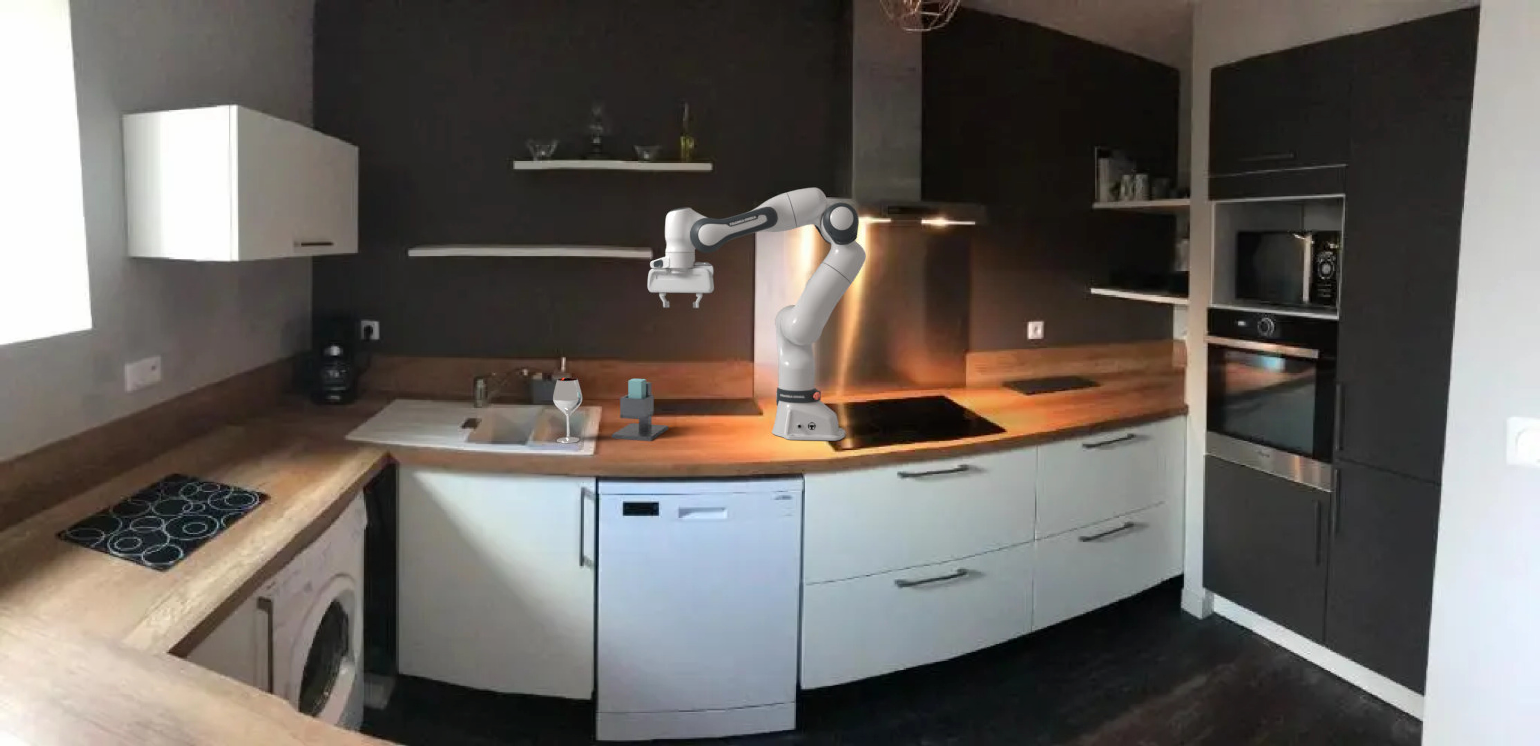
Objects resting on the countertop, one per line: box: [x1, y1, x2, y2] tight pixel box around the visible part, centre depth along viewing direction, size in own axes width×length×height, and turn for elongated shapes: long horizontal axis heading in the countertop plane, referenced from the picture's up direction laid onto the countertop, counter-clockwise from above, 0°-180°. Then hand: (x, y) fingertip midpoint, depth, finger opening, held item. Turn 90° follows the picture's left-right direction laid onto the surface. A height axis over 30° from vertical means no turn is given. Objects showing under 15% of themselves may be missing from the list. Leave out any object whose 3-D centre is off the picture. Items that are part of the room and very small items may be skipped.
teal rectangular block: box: [627, 378, 647, 399], centre depth 256 cm, size 4×4×10 cm
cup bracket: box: [611, 381, 669, 442], centre depth 259 cm, size 12×16×15 cm
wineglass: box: [552, 377, 583, 444], centre depth 249 cm, size 8×8×18 cm
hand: (681, 307), depth 263 cm, fingers open, 8 cm apart
